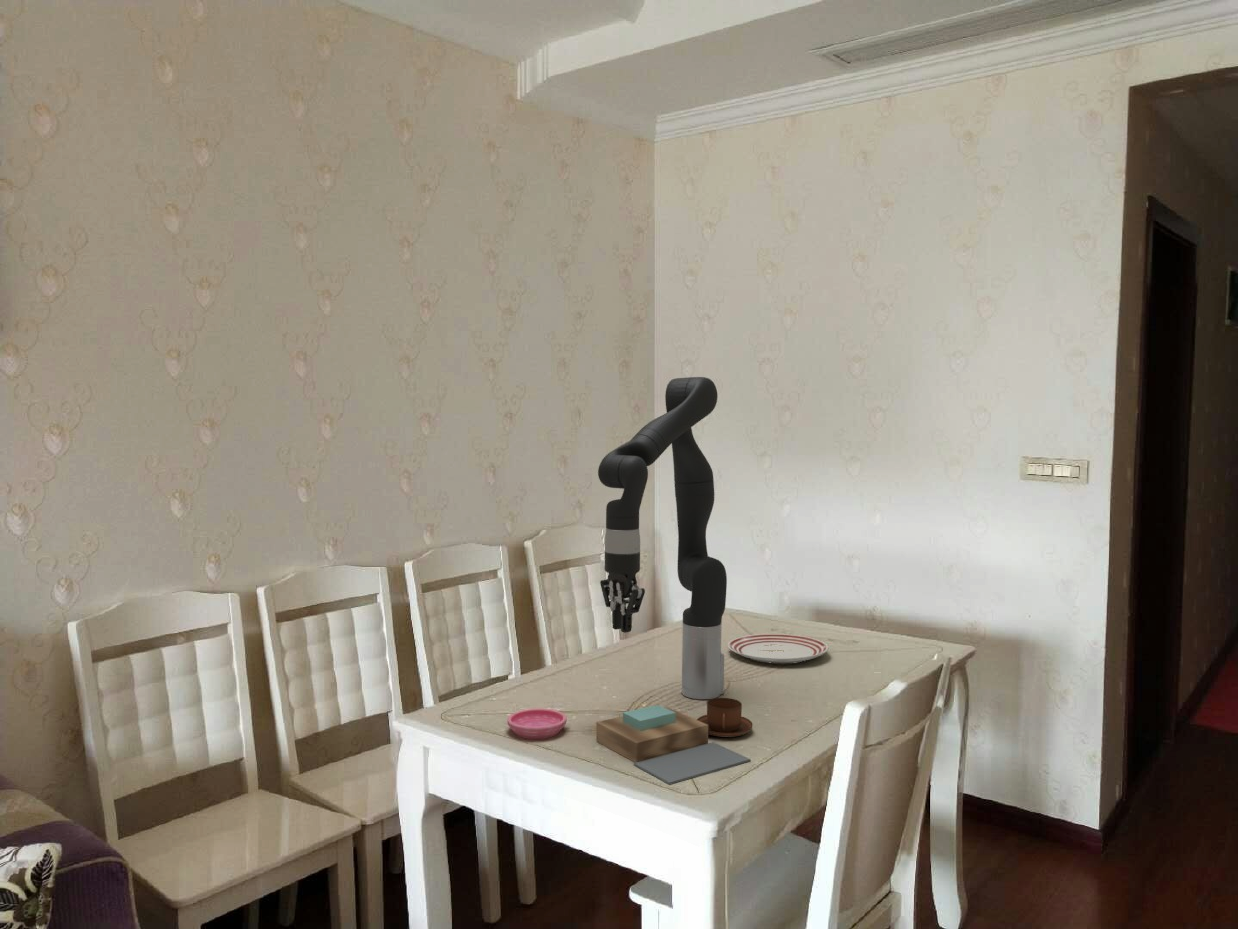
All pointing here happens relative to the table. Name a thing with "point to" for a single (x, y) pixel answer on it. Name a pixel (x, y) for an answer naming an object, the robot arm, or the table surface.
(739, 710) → the cup and saucer
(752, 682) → the table surface
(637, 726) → the teal rectangular block
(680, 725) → the wooden block
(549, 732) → the pink round bowl
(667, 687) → the table surface
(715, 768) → the mat
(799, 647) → the dinner plate
